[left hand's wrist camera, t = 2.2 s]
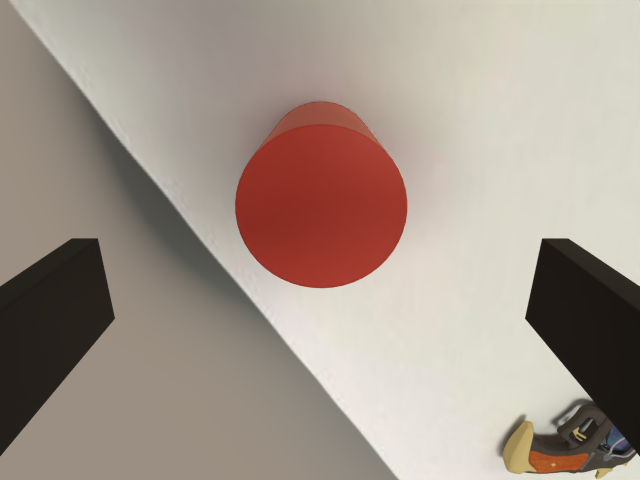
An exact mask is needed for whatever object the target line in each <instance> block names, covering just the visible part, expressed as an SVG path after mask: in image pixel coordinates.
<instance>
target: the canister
mask: <svg viewBox="0 0 640 480" xmlns="http://www.w3.org/2000/svg"><path fill="white" fill-rule="evenodd" d="M235 212H236V219H237V225H238V228H239V231H240V234H241V236H242V239H243V241H244V243H245V245H246V246H247V248H248V249H249V251H250V253H251V254H252V255H253V256H254V257H255V259H256V260H257V261H258V262H259V263H260V264H261V265H262V266H263V267H264V268H266V269H267V270H268V271H270V272H271V273H272V274H274V275H276V276H277V277H279V278H281V279H283V280H285V281H288V282H290V283H293V284H296V285H300V286H305V287H311V288H332V287H338V286H343V285H346V284H349V283H353V282H355V281H357V280H359V279H362V278H363V277H365V276H367V275H368V274H370V273H372V272H373V271H374V270H376V269H377V268H378V267H379V266H380V265H381V264H382V263H383V262H384V261H385V260H386V259H387V258H388V257H389V256H390V254H391V253H392V252H393V251H394V249H395V247H396V245H397V244H398V242H399V240H400V238H401V235H402V233H403V230H404V226H405V223H406V216H407V196H406V189H405V186H404V182H403V179H402V177H401V174H400V172H399V170H398V168H397V166H396V165H395V163H394V162H393V160H392V159H391V157H390V156H389V155H388V153H387V152H386V151H385V150H384V148H383V147H382V146H381V144H380V143H379V142H378V141H377V139H376V138H375V137H374V135H373V134H372V133H371V132H370V130H369V129H368V128H367V126H366V125H365V124H364V123H363V122H362V120H361V119H360V118H359V117H358V116H357V115H356V114H355V113H353V112H352V111H350V110H349V109H347V108H345V107H343V106H341V105H338V104H335V103H330V102H313V103H308V104H305V105H302V106H299V107H297V108H296V109H294V110H292V111H291V112H289V113H288V114H287V115H286V116H285V117H284V118H283V119H282V120H281V121H280V122H279V124H278V125H277V126H276V127H275V129H274V130H273V131H272V132H271V134H270V135H269V136H268V138H267V139H266V140H265V141H264V143H263V144H262V145H261V147H260V148H259V149H258V150H257V152H256V153H255V154H254V156H253V157H252V158H251V159H250V161H249V162H248V164H247V166H246V167H245V169H244V171H243V173H242V176H241V178H240V180H239V184H238V188H237V192H236V200H235Z"/></svg>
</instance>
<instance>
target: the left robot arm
mask: <svg viewBox="0 0 640 480" xmlns="http://www.w3.org/2000/svg"><path fill="white" fill-rule="evenodd" d="M114 319H115V317H114V312H113V307H112V303H111V298H110V293H109V289H108V284H107V279H106V275H105V270H104V265H103V261H102V256H101V251H100V247H99V242H98V239H70V240H69V241H67V242H66V243H64V244H63V245H62V246H60V247H58V248H57V249H55V250H54V251H53V252H51V253H50V254H48V255H46V256H45V257H43V258H42V259H41V260H39V261H38V262H36V263H35V264H33V265H32V266H30V267H29V268H27V269H26V270H24V271H23V272H21V273H20V274H18V275H17V276H15V277H14V278H12V279H11V280H9V281H8V282H6V283H5V284H3V285H2V286H0V456H1V455H2V454H3V452H4V451H5V450H6V449H7V447H8V446H9V445H10V444H11V443H12V442H13V440H14V439H15V438H16V437H17V436H18V434H19V433H20V432H21V431H22V429H23V428H24V427H25V426H26V425H27V424H28V422H29V421H30V420H31V419H32V417H33V416H34V415H35V414H36V413H37V411H38V410H39V409H40V408H41V407H42V405H43V404H44V403H45V402H46V401H47V399H48V398H49V397H50V396H51V395H52V393H53V392H54V391H55V390H56V389H57V387H58V386H59V385H60V384H61V383H62V381H63V380H64V379H65V378H66V377H67V375H68V374H69V373H70V372H71V371H72V369H73V368H74V367H75V366H76V365H77V363H78V362H79V361H80V360H81V359H82V357H83V356H84V355H85V354H86V353H87V351H88V350H89V349H90V348H91V347H92V345H93V344H94V343H95V342H96V341H97V339H98V338H99V337H100V336H101V335H102V333H103V332H104V331H105V330H106V329H107V327H108V326H109V325H110V324H111V323H112V321H113V320H114ZM525 319H526V320H527V321H528V323H529V324H530V325H531V326H532V327H533V329H534V330H535V331H536V332H537V333H538V335H539V336H540V337H541V338H542V339H543V341H544V342H545V343H546V344H547V345H548V347H549V348H550V349H551V350H552V351H553V353H554V354H555V355H556V356H557V357H558V359H559V360H560V361H561V362H562V363H563V365H564V366H565V367H566V368H567V369H568V371H569V372H570V373H571V374H572V375H573V377H574V378H575V379H576V380H577V381H578V383H579V384H580V385H581V386H582V387H583V389H584V390H585V391H586V392H587V393H588V395H589V396H590V397H591V398H592V399H593V401H594V402H595V403H596V404H597V405H598V407H599V408H600V409H601V410H602V411H603V413H604V414H605V415H606V416H607V418H608V419H609V420H610V421H611V422H612V424H613V425H614V426H615V427H616V428H617V430H618V431H619V432H620V433H621V434H622V436H623V437H624V438H625V439H626V440H627V442H628V443H629V444H630V445H631V446H632V448H633V449H634V450H635V451H636V452H637V454H638V455H639V456H640V286H638V285H637V284H635V283H634V282H632V281H631V280H629V279H628V278H626V277H625V276H623V275H622V274H620V273H619V272H617V271H616V270H614V269H613V268H611V267H610V266H608V265H607V264H605V263H604V262H602V261H601V260H599V259H598V258H597V257H595V256H594V255H592V254H591V253H589V252H588V251H586V250H585V249H583V248H582V247H580V246H579V245H577V244H576V243H574V242H573V241H571V240H570V239H542V242H541V247H540V251H539V256H538V261H537V265H536V270H535V275H534V279H533V284H532V289H531V293H530V298H529V303H528V307H527V312H526V317H525Z"/></svg>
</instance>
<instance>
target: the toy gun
mask: <svg viewBox="0 0 640 480" xmlns="http://www.w3.org/2000/svg"><path fill="white" fill-rule="evenodd" d="M589 417H590V418H592V419H593V421H592V422H591V424H590V425H589V426H588V427H587V429H586V430H585V431H584V432H583V434H581V433H579V432H578V430H579V426H580V425H581V424H582V423H583V422H584V421H585V420H586V419H587V418H589ZM533 432H534V431H533V424H532V422H530V421H525V422H523V423H522V424H521V425H520V426H519V427H518V429H517V430H516V431H515V432H514V433H513V434H512V436H511V437H510V438H509V440H508V442H507V444H506V446H505V448H504V452H503V460H504V463H505V466H506V469H507V470H508V471H509V472H512V473H516V474H521V473H523V472H526V473H537V474H547V473H558V472H570V473H577V472H587V471H591V470H595V469H596V470H597V473H596V475H595V477H596V479H599V478H602V477H603V476H604V475H605V474H607V473H608V472H610V471H612V470H613V469H612V468H614V467H615V466H617V465H625V466H626V465H627V463H628V462H629V461H630V460H631V459H632V458H633V457H634V456H635V455H636V454H637V452H636V451H635V450H634V449H633V448H632V446H631V445H630V444H629V443H628V442H627V440H626V439H625V438H624V437H623V436H622V434H621V433H620V432H619V431H618V430H617V428H616V427H615V426H614V425H613V424H612V422H611V421H610V420H609V419H608V418H607V416H606V415H605V414H604V413H603V411H602V410H601V409H600V408H597V407H595V406H592V405H584V406H582V407H580V408H579V409H578V411H577V412H576V413H575V415H574V416H573V417H572V418H571V419H570V420H568V421H567V422H566V423H564V424H563V425H562V426H560V427H559V428H558V429H557V432H558V433H559V435H560V436H561V437H562V438H564V439H565V440H567V442H564V443H550V442H543V441H540V440H538V439H537V438H535V437H533ZM571 432H573V434H574V435H575V437H576V438H575V439H574V438H572V437H570V436H569V434H570V433H571ZM576 434H578V435H579V437H578V436H576ZM605 436H606V444H602V440H603V439H604V438H605ZM606 446H607V447H606Z"/></svg>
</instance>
